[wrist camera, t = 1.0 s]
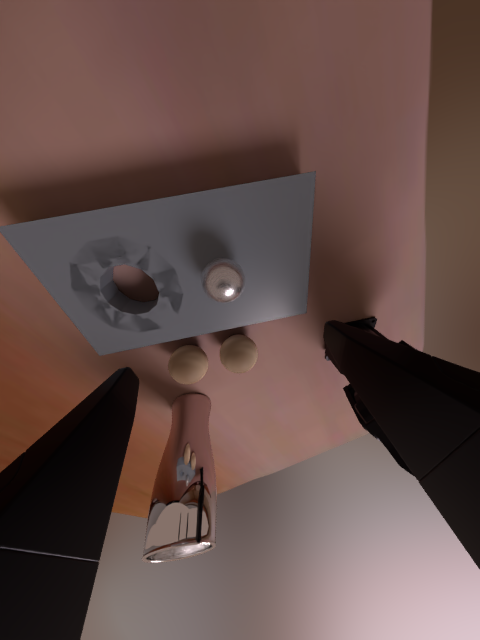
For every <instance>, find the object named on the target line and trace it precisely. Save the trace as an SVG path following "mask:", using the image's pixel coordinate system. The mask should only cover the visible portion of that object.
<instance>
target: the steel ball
mask: <svg viewBox="0 0 480 640" xmlns="http://www.w3.org/2000/svg"><path fill="white" fill-rule="evenodd" d="M201 285H202V288H203V290H204V292H205V294H206V295H207V296H208V297H209V298H210V299H212V300H213V301H216V302H219V303H228V302H231V301H234V300H235V299H237V298H238V297H239V296H240V295H241V293H242V292H243V290H244V287H245V274H244V272H243V270H242V268H241V267H240V265H239V264H238V263H236V262H235V261H233V260H231V259H228V258H217V259H214V260H212V261H211V262H209V263H208V264H207V265H206V266H205V268H204V270H203V272H202V275H201Z"/></svg>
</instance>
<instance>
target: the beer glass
mask: <svg viewBox="0 0 480 640" xmlns="http://www.w3.org/2000/svg"><path fill="white" fill-rule="evenodd" d="M210 411H211V401H210V399H209V398H208V397H206V396H205V395H202V394H198V393H188V394H184V395H181V396H179V397H178V398H176V399H175V400H174V401H173V404H172V425H171V430H170V435H169V438H168V441H167V444H166V447H165V450H164V453H163V456H162V459H161V462H160V465H159V468H158V472H157V475H156V479H155V483H154V487H153V492H152V496H151V502H150V508H149V514H148V522H147V529H146V537H145V545H144V552H143V557H142V561H143V562H147V563H159V562H168V561H174V560H180V559H185V558H189V557H193V556H196V555H200V554H203V553H205V552H208V551H210V550H212V549H213V548H214V547H215V546H216V541H215V540H216V506H217V500H216V498H217V493H216V473H215V465H214V458H213V452H212V446H211V441H210V434H209V416H210Z"/></svg>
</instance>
